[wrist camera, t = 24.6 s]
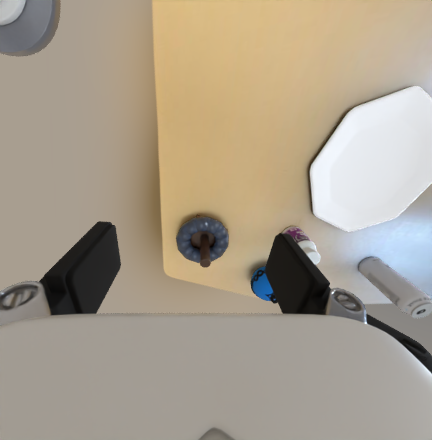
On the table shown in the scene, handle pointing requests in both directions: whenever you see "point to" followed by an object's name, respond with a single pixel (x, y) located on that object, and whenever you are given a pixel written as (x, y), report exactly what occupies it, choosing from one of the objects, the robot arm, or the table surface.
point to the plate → (374, 161)
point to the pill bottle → (304, 243)
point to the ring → (202, 225)
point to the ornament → (262, 286)
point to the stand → (203, 245)
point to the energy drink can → (396, 288)
